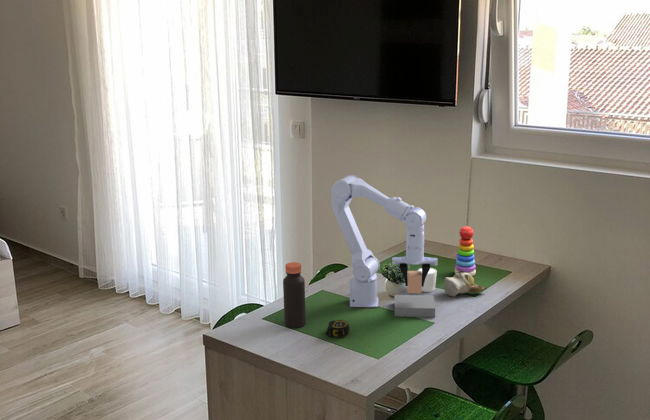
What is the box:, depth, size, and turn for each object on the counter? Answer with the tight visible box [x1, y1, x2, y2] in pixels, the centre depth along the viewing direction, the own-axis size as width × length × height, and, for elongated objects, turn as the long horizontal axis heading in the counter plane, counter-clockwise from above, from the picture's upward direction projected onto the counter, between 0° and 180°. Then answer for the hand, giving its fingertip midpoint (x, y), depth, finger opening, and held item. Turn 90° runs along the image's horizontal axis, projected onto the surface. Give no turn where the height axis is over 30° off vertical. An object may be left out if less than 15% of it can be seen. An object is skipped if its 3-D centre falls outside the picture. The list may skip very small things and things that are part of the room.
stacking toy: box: [454, 225, 477, 277], centre depth 259 cm, size 8×8×19 cm
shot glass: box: [416, 267, 438, 293], centre depth 247 cm, size 7×7×7 cm
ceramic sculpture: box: [443, 270, 487, 297], centre depth 242 cm, size 11×9×15 cm
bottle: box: [282, 261, 307, 329], centre depth 218 cm, size 7×7×20 cm
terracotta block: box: [406, 270, 423, 294], centre depth 226 cm, size 4×4×6 cm
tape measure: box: [325, 319, 350, 338], centre depth 212 cm, size 7×7×4 cm
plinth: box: [394, 294, 436, 318], centre depth 229 cm, size 13×11×3 cm
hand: (414, 285), depth 227 cm, fingers closed on terracotta block, 4 cm apart
